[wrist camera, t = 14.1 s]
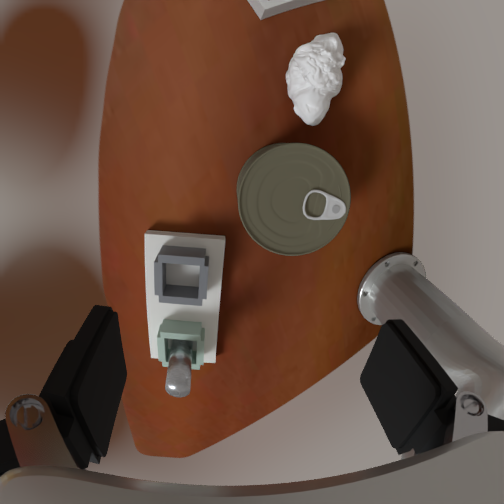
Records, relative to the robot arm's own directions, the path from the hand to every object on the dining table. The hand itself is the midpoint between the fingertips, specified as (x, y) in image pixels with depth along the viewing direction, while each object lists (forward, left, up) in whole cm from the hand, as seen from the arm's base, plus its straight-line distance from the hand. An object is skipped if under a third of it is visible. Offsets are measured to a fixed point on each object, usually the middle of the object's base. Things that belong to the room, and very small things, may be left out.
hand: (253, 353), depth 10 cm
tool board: (-10, +13, -28) cm, 33 cm away
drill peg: (-15, +16, -27) cm, 35 cm away
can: (-3, -6, -29) cm, 29 cm away
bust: (+8, -15, -29) cm, 33 cm away
